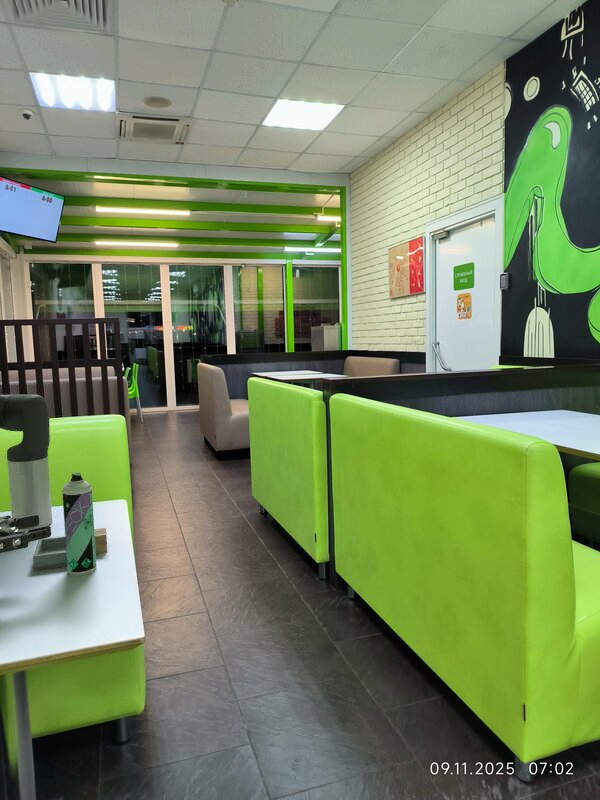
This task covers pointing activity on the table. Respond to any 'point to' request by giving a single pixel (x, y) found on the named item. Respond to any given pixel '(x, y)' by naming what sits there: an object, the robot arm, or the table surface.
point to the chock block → (100, 540)
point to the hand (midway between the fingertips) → (44, 524)
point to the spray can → (79, 526)
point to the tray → (50, 553)
